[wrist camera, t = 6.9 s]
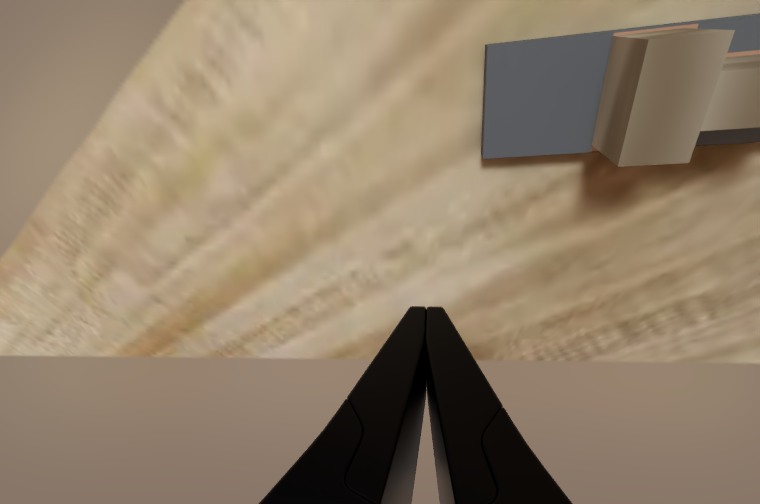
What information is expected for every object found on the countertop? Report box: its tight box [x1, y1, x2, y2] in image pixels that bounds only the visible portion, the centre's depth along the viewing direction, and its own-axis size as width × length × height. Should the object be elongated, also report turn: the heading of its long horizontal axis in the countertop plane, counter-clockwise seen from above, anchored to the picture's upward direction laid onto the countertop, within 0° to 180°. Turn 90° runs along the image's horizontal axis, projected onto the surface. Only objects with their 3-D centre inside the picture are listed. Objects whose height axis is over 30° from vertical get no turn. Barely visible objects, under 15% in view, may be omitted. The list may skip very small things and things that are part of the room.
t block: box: [592, 28, 760, 167], centre depth 14 cm, size 7×4×3 cm, turn 96°
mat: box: [481, 14, 760, 159], centre depth 16 cm, size 13×5×1 cm, turn 96°
